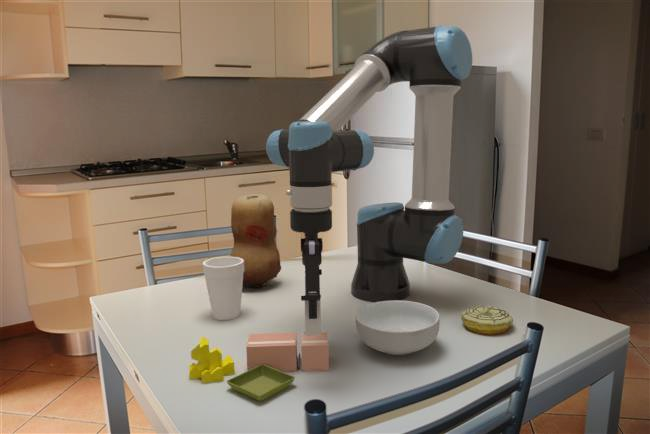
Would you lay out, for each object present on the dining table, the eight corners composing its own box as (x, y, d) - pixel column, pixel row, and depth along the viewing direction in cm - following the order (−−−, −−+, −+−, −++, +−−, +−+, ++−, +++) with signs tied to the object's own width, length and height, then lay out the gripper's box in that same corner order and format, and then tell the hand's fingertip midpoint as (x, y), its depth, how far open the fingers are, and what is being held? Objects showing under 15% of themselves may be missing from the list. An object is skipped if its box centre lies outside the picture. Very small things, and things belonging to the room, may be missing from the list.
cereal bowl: (354, 331, 123) (354, 299, 122) (432, 330, 123) (432, 299, 121) (356, 366, 107) (356, 330, 105) (446, 366, 106) (446, 330, 105)
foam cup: (238, 323, 129) (235, 268, 126) (199, 321, 131) (196, 266, 128) (251, 309, 138) (249, 257, 135) (215, 307, 140) (212, 255, 137)
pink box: (327, 356, 111) (327, 331, 110) (329, 370, 105) (328, 344, 104) (302, 357, 111) (301, 332, 110) (301, 371, 105) (301, 345, 104)
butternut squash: (232, 295, 148) (227, 200, 143) (228, 280, 161) (223, 193, 156) (285, 290, 151) (281, 197, 146) (277, 276, 164) (273, 190, 159)
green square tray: (225, 391, 99) (225, 380, 99) (262, 373, 105) (262, 363, 105) (259, 408, 93) (259, 396, 93) (296, 388, 100) (296, 377, 99)
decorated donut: (520, 326, 124) (521, 309, 124) (498, 341, 117) (498, 324, 116) (476, 315, 131) (477, 299, 131) (452, 328, 124) (453, 312, 123)
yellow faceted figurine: (235, 379, 103) (233, 339, 101) (189, 385, 101) (186, 344, 100) (233, 365, 108) (231, 327, 107) (190, 370, 107) (187, 331, 105)
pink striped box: (300, 356, 111) (299, 331, 110) (299, 370, 105) (299, 344, 104) (250, 358, 111) (249, 333, 110) (247, 372, 105) (246, 346, 104)
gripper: (291, 198, 115) (294, 299, 119) (287, 221, 90) (290, 348, 94) (329, 197, 115) (330, 298, 119) (335, 220, 90) (336, 347, 94)
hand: (312, 320), depth 106 cm, fingers open, 13 cm apart
